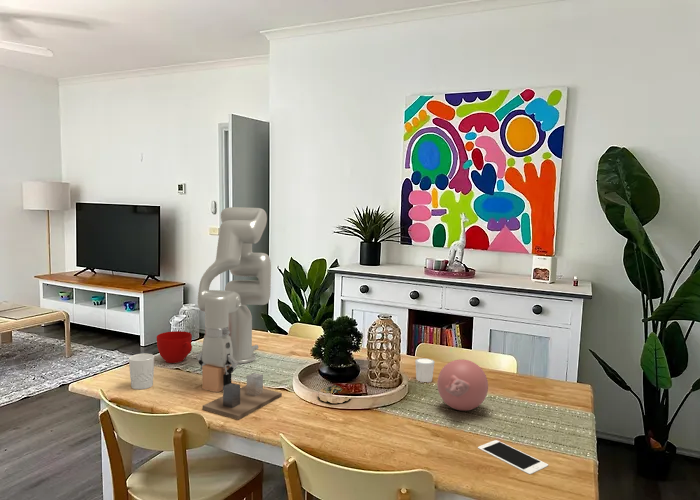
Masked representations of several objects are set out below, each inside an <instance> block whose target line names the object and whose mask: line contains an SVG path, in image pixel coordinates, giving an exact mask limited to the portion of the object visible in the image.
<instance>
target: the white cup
mask: <svg viewBox="0 0 700 500" xmlns="http://www.w3.org/2000/svg"><path fill="white" fill-rule="evenodd" d="M128 363H129V379H130V387H131V389H134V390H147V389H149V388H152V387H153V385H154V375H155V355H154V354H152V353H137V354H133V355H131V356H129V358H128Z"/></svg>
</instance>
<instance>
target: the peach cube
mask: <svg viewBox="0 0 700 500" xmlns="http://www.w3.org/2000/svg"><path fill="white" fill-rule="evenodd" d="M225 365H226V364H225ZM226 368H227V367H226ZM201 370H202V371H201V372H202V374H201V375H202V376H201V377H202V379H201V381H202V385H201V387H202V389H203V390H206V391H210V392H214V393H220V392H223V386H224V385H223V375H224V374H225V373H224V371H223V369H222V368H220V367H216V366H211V365H207V364H206V365H204V366H202V369H201ZM227 370H228V368H227Z"/></svg>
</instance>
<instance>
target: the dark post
mask: <svg viewBox="0 0 700 500" xmlns="http://www.w3.org/2000/svg"><path fill="white" fill-rule="evenodd" d="M240 388H241V385H240V384H237V383H235V382H233V383H232V382H231V383H230V384H227V385H225V386H223V390H222V396H223V406H226V407H230V408H234V407H236V406H238V405H240Z"/></svg>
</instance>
